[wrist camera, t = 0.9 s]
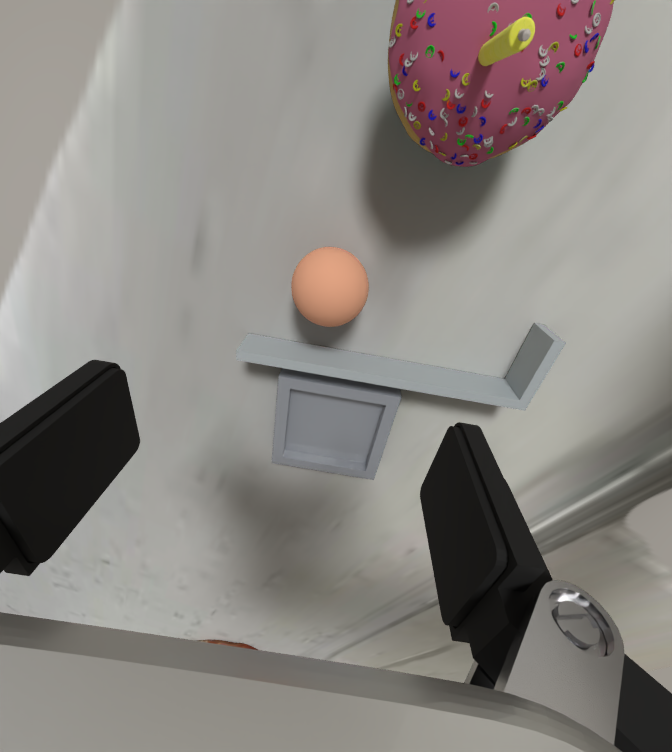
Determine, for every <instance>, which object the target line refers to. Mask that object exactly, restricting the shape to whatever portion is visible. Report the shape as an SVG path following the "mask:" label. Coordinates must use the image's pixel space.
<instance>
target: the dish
mask: <svg viewBox="0 0 672 752" xmlns="http://www.w3.org/2000/svg"><path fill="white" fill-rule="evenodd" d="M400 400H401V393H400V389H399V388H393V387H388V386H382V385H376V384H370V383H365V382H359V381H353V380H348V379H342V378H336V377H331V376H325V375H319V374H313V373H308V372H302V371H296V370H291V369H285V368H282V369H281V372H280V374H279V378H278V390H277V403H276V415H275V428H274V440H273V452H272V463H276V464H282V465H288V466H294V467H300V468H306V469H312V470H318V471H324V472H330V473H336V474H342V475H348V476H354V477H360V478H366V479H372V480H374V478H375V475H376V472H377V469H378V466H379V463H380V460H381V457H382V454H383V451H384V448H385V445H386V442H387V439H388V436H389V433H390V430H391V427H392V424H393V421H394V418H395V415H396V412H397V409H398V406H399V403H400Z"/></svg>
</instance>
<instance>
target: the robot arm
mask: <svg viewBox="0 0 672 752" xmlns="http://www.w3.org/2000/svg"><path fill="white" fill-rule="evenodd" d="M139 444H140V437H139V433H138V428H137V424H136V419H135V414H134V410H133V405H132V400H131V396H130V391H129V387H128V382H127V377H126V374H125V372H124V370H121V368H120V366H119V365H118V364H116V363H111V362H105V361H99V360H92V361H89V362H88V363H86V364H85V365H83V366H82V367H81V368H79V369H78V370H76V371H75V372H73V373H72V374H70V375H69V376H68V377H66V378H65V379H63V380H62V381H60V382H59V383H58V384H56V385H55V386H53V387H52V388H50V389H49V390H47V391H46V392H45V393H43V394H42V395H40V396H39V397H37V398H36V399H34V400H33V401H32V402H30V403H29V404H27V405H26V406H24V407H23V408H22V409H20V410H19V411H17V412H16V413H14V414H13V415H11V416H10V417H9V418H7V419H6V420H4V421H3V422H1V423H0V573H1V572H2V571H3V570H4V571H5V572H6V573H12V574H19V575H25V576H30V575H31V574H32V572H33V571H34V570H35V569H36V567H37V566H38V565H39V564H40V563H43V562H45V561H47V560H48V559H49V558H50V557H51V556H52V555H53V554H54V553H55V552H56V550H57V549H58V548H59V547H60V545H61V544H62V543H63V542H64V540H65V539H66V538H67V537H68V536H69V534H70V533H71V532H72V531H73V529H74V528H75V527H76V526H77V524H78V523H79V522H80V521H81V519H82V518H83V517H84V516H85V514H86V513H87V512H88V511H89V510H90V508H91V507H92V506H93V505H94V503H95V502H96V501H97V500H98V498H99V497H100V496H101V495H102V493H103V492H104V491H105V490H106V488H107V487H108V486H109V485H110V483H111V482H112V481H113V480H114V479H115V477H116V476H117V475H118V474H119V472H120V471H121V470H122V469H123V467H124V466H125V465H126V464H127V462H128V461H129V460H130V459H131V457H132V456H133V455H134V454H135V453H136V451H137V449H138V447H139ZM420 499H421V504H422V510H423V516H424V521H425V527H426V532H427V538H428V543H429V549H430V555H431V560H432V566H433V571H434V577H435V582H436V588H437V594H438V599H439V605H440V610H441V616H442V619H443V622H444V623H445V625H448V626H449V627H450V632H451V637H452V640H453V641H459V642H466V643H470V647H471V651H472V656H473V659H474V662H473V664H472V667H471V669H470V671H469V673H468V675H467V677H466V679H465V682H464V683H460V682H454V681H449V680H443V679H437V678H431V677H426V676H420V675H414V674H409V673H403V672H397V671H391V670H385V669H378V668H372V667H365V666H359V665H352V664H346V663H339V662H333V661H326V660H320V659H313V658H307V657H300V656H294V655H287V654H281V653H274V652H268V651H261V650H254V649H247V648H241V647H234V646H227V645H221V644H214V643H207V642H201V641H194V640H187V639H180V638H174V637H167V636H160V635H153V634H146V633H140V632H133V631H126V630H119V629H113V628H106V627H99V626H92V625H85V624H78V623H71V622H64V621H57V620H50V619H43V618H36V617H29V616H22V615H15V614H8V613H1V612H0V752H672V694H671V693H670V692H669V691H668V690H667V689H666V688H664V687H663V686H662V685H661V684H660V683H658V682H657V681H656V680H655V679H654V678H653V677H651V676H650V675H649V674H648V673H647V672H646V671H644V670H643V669H642V668H641V667H640V666H638V665H637V664H636V663H635V662H634V661H633V660H631V659H630V658H629V657H628V656H627V655H626V654H624V644H623V640H622V638H621V635H620V632H619V630H618V628H617V626H616V625H615V623H614V621H613V620H612V618H611V617H610V615H609V614H608V613H607V612H606V610H605V609H604V608H603V607H602V606H601V605H600V604H599V602H597V601H596V600H595V599H594V598H593V597H592V596H590V595H589V594H588V593H587V592H585V591H584V590H582V589H580V588H579V587H577V586H576V585H573V584H571V583H568V582H565V581H558V580H552V578H551V575H550V573H549V571H548V569H547V567H546V565H545V563H544V560H543V558H542V556H541V554H540V552H539V550H538V548H537V545H536V543H535V541H534V539H533V537H532V535H531V533H530V530H529V528H528V526H527V524H526V522H525V520H524V518H523V516H522V513H521V511H520V509H519V507H518V505H517V503H516V501H515V498H514V496H513V494H512V492H511V490H510V488H509V486H508V484H507V482H506V480H505V479H504V478H503V475H502V473H501V471H500V469H499V467H498V465H497V463H496V460H495V458H494V456H493V454H492V452H491V450H490V447H489V445H488V443H487V441H486V439H485V437H484V434H483V432H482V430H481V428H480V427H479V426H477V425H471V424H465V423H460V422H459V423H457V424H455V426H454V427H453V426H450V427H449V428H448V430H447V432H446V434H445V436H444V438H443V440H442V443H441V445H440V447H439V449H438V451H437V454H436V456H435V458H434V460H433V462H432V464H431V467H430V469H429V471H428V473H427V475H426V478H425V480H424V482H423V484H422V487H421V491H420Z"/></svg>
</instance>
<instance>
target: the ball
mask: <svg viewBox="0 0 672 752" xmlns="http://www.w3.org/2000/svg"><path fill="white" fill-rule="evenodd" d="M291 288H292V296H293V300H294V302H295V304H296V306H297V308H298V310H299V311H300V312H301V314H302V315H303V316H304V317H305V318H307V319H308V320H309V321H311V322H313V323H315V324H317V325H321V326H326V327H335V326H340V325H343V324H345V323H347V322H349V321H351V320H352V319H354V318H355V317H356V316H357V315H358V314H359V313H360V311H361V310H362V308H363V307H364V305H365V303H366V300H367V296H368V289H369V284H368V278H367V274H366V272H365V269H364V267H363V266H362V264H361V263H360V261H359V260H358V259H357V258H356V257H355V256H354V255H352V254H351V253H349V252H348V251H346V250H343V249H340V248H336V247H324V248H319V249H316V250H314V251H312V252H310V253H309V254H307V255H306V256H305V257H304V258H303V259H302V260H301V261H300V262H299V264H298V265H297V267H296V269H295V271H294V274H293V277H292V287H291Z"/></svg>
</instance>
